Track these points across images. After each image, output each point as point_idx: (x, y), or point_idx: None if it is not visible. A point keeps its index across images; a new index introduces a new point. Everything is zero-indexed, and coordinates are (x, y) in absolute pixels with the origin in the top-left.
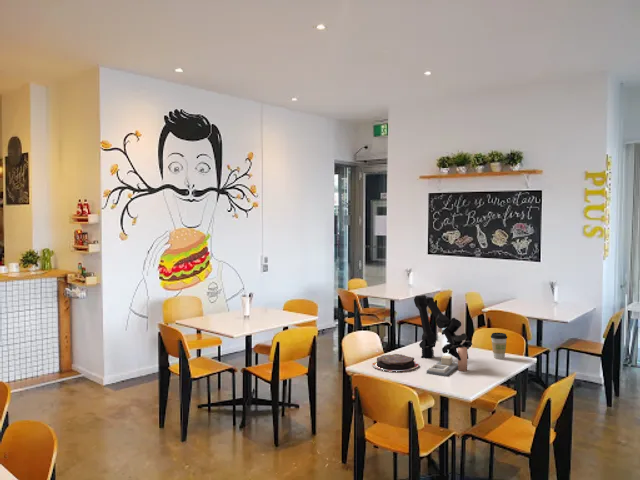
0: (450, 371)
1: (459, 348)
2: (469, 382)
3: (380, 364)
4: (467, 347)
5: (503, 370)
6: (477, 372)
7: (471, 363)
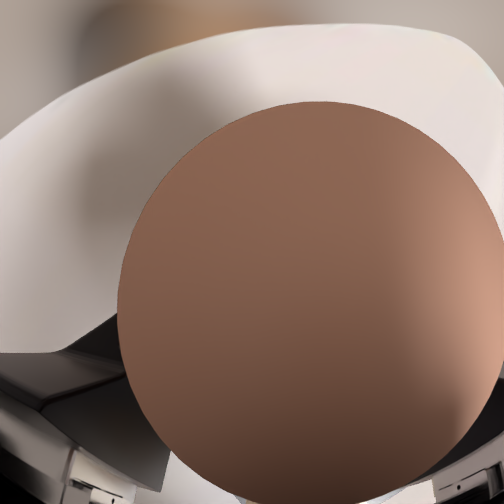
0: None
1: (500, 297)
2: (412, 85)
3: None
4: (20, 355)
5: (49, 136)
6: None
7: None
